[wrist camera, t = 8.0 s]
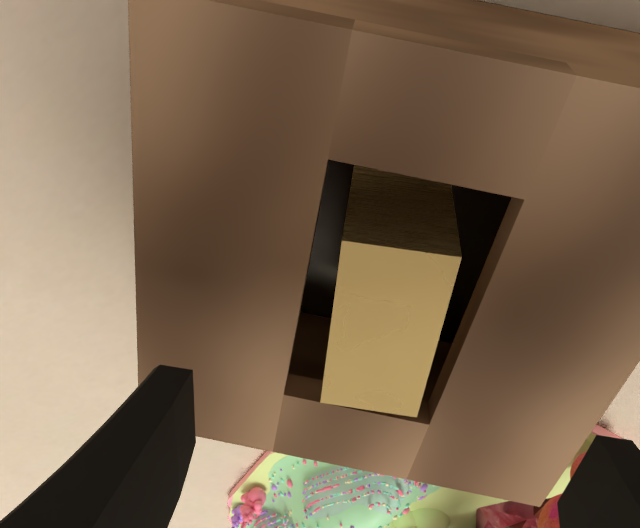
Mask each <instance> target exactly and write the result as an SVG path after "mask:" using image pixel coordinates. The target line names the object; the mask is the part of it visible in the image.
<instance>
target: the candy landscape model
mask: <svg viewBox="0 0 640 528" xmlns="http://www.w3.org/2000/svg"><path fill="white" fill-rule="evenodd" d="M596 435H601V436H607V437H613V438H619V439H622V438H621V437H619V436H617V435H615V434H613V433H612V432H610V431H608V430H606V429H604V428H603V427H601V426H599V425H597V424H596V425H595V427H594V428H593V430H592V431H591V433H590V434H589V436H588V437H587V439H586V440H585V442H584V443H583V445H582V446H581V448H580V449H579V450H578V452H577V453H576V455H575V456H574V458H573V459H572V461H571V462H570V464H569V465H568V467H567V468H566V470H565V471H564V472H563V474H562V475H561V477H560V478H559V480H558V481H557V483H556V484H555V486H554V487H553V489H552V490H551V492H550V493H549V495H548V496H547V497H546V499H545V500H544V502H543V503H542V505H541V506H540V507H537V506H533V505H528V504H523V503H518V502H513V501H508V500H504V499H499V498H494V497H489V496H484V495H479V494H474V493H470V492H465V491H460V490H455V489H450V488H445V487H440V486H436V485H431V484H426V483H421V482H416V481H411V480H407V479H402V478H397V477H392V476H387V475H382V474H377V473H373V472H368V471H363V470H358V469H353V468H348V467H343V466H339V465H334V464H329V463H324V462H319V461H314V460H310V459H305V458H300V457H295V456H290V455H285V454H280V453H276V452H271V451H266V452H265V453H264V454H263V455H262V456H261V458H260V459H259V460H258V461H257V462H256V463H255V464H254V466H253V467H252V468H251V469H250V470H249V471H248V472H247V473H246V475H245V476H244V477H243V478H242V479H241V480H240V481H239V482H238V484H237V485H236V486H235V487H234V488H233V489H232V491H231V492H230V496H229V499H228V502H227V504H228V506H229V508H230V511H229V515H228V519H229V521H230V522H231V524H232V528H560V525H559V516H558V506H557V502H558V500H559V498H560V497H561V495H562V493H563V492H564V490H565V488H566V486H567V485H568V483H569V481H570V480H571V478H572V476H573V474H574V473H575V471H576V469H577V468H578V466H579V464H580V462H581V461H582V459H583V457H584V455H585V454H586V452H587V450H588V449H589V447H590V445H591V443H592V442H593V440H594V438H595V437H596Z"/></svg>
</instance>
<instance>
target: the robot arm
mask: <svg viewBox="0 0 640 528" xmlns="http://www.w3.org/2000/svg"><path fill="white" fill-rule="evenodd" d="M195 443H196V437H195V411H194V385H193V370H191V369H185V368H179V367H172V366H166V365H158V366H157V367H155V368H154V369H153V370H152V371H151V372H150V374H149V375H148V376H147V377H146V378H145V379H144V381H143V382H142V383H141V384H140V385H139V386H138V387H137V388H136V390H135V391H134V392H133V393H132V394H131V395H130V396H129V397H128V398H127V400H126V401H125V402H124V403H123V404H122V405H121V406H120V407H119V408H118V409H117V410H116V411H115V412H114V414H113V415H112V416H111V417H110V418H109V419H108V420H107V421H106V422H105V423H104V424H103V425H102V426H101V427H100V428H99V429H98V430H97V431H96V432H95V433H94V434H93V435H92V436H91V437H90V438H89V439H88V440H87V441H86V442H85V443H84V444H83V445H82V446H81V447H80V448H79V449H78V450H77V451H76V452H75V453H74V454H73V455H72V456H71V457H70V458H69V459H68V460H67V461H66V462H65V463H64V464H63V465H62V466H61V467H60V468H59V469H58V470H57V471H56V472H54V473H53V474H52V475H51V476H50V477H49V478H48V479H47V480H46V481H45V482H44V483H42V484H41V485H40V486H39V487H38V488H37V489H36V490H35V491H34V492H33V493H32V494H30V495H29V496H28V497H27V498H26V499H25V500H24V501H23V502H22V503H21V504H19V505H18V506H17V507H16V508H15V509H14V510H13V511H11V512H10V513H9V514H8V515H7V516H6V517H4V518H3V519H2V520H1V521H0V528H167V527H168V525H169V522H170V520H171V517H172V515H173V512H174V510H175V507H176V505H177V502H178V500H179V498H180V495H181V491H182V488H183V485H184V481H185V478H186V475H187V471H188V468H189V464H190V461H191V457H192V454H193V450H194V447H195ZM557 506H558V516H559V525H560V528H640V450H639V449H638V448H637V446H636V445H635V444H634V443H633V441H632V440H626V439H619V438H613V437H607V436H601V435H596V437H595V438H594V440H593V442H592V443H591V445H590V447H589V449H588V450H587V452H586V454H585V455H584V457H583V459H582V461H581V462H580V464H579V466H578V468H577V469H576V471H575V473H574V474H573V476H572V478H571V480H570V481H569V483H568V485H567V486H566V488H565V490H564V492H563V493H562V495H561V497H560V498H559V500H558V502H557Z"/></svg>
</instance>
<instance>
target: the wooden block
mask: <svg viewBox="0 0 640 528" xmlns="http://www.w3.org/2000/svg"><path fill="white" fill-rule="evenodd" d="M461 259H462V255H461V248H460V242H459V235H458V228H457V221H456V214H455V207H454V200H453V194H452V187H451V184H446V183H441V182H436V181H431V180H426V179H421V178H417V177H412V176H407V175H402V174H397V173H392V172H387V171H382V170H377V169H373V168H368V167H363V166H358V165H354V169H353V176H352V182H351V188H350V194H349V200H348V206H347V212H346V218H345V224H344V230H343V237H342V243H341V251H340V258H339V266H338V273H337V281H336V288H335V296H334V303H333V311H332V318H331V325H330V333H329V340H328V348H327V355H326V363H325V370H324V378H323V385H322V393H321V400H320V403H326V404H332V405H339V406H345V407H352V408H358V409H365V410H371V411H378V412H384V413H391V414H397V415H404V416H410V417H417V415H418V411H419V408H420V404H421V401H422V397H423V394H424V390H425V387H426V383H427V379H428V376H429V372H430V369H431V365H432V362H433V358H434V355H435V351H436V347H437V344H438V340H439V337H440V333H441V330H442V326H443V323H444V319H445V315H446V312H447V308H448V305H449V301H450V298H451V294H452V291H453V287H454V283H455V280H456V276H457V273H458V269H459V266H460V262H461Z"/></svg>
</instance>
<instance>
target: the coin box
mask: <svg viewBox="0 0 640 528" xmlns="http://www.w3.org/2000/svg"><path fill="white" fill-rule="evenodd" d="M128 10H129V48H130V86H131V124H132V162H133V200H134V238H135V276H136V314H137V352H138V386H139V385H140V384H141V383H142V382H143V381H144V379H145V378H146V377H147V376H148V375H149V374H150V372H151V371H152V370H153V369H154V368H155V367H157V366H158V365H166V366H172V367H179V368H185V369H191V370H193V385H194V411H195V436H198V437H203V438H208V439H213V440H217V441H222V442H227V443H232V444H237V445H242V446H246V447H251V448H256V449H261V450H266V451H271V452H276V453H280V454H285V455H290V456H295V457H300V458H305V459H310V460H314V461H319V462H324V463H329V464H334V465H339V466H343V467H348V468H353V469H358V470H363V471H368V472H373V473H377V474H382V475H387V476H392V477H397V478H402V479H407V480H411V481H416V482H421V483H426V484H431V485H436V486H440V487H445V488H450V489H455V490H460V491H465V492H470V493H474V494H479V495H484V496H489V497H494V498H499V499H504V500H508V501H513V502H518V503H523V504H528V505H533V506H537V507H540V506H541V505H542V503H543V502H544V500H545V499H546V497H547V496H548V495H549V493H550V492H551V490H552V489H553V487H554V486H555V484H556V483H557V481H558V480H559V478H560V477H561V475H562V474H563V472H564V471H565V470H566V468H567V467H568V465H569V464H570V462H571V461H572V459H573V458H574V456H575V455H576V453H577V452H578V450H579V449H580V448H581V446H582V445H583V443H584V442H585V440H586V439H587V437H588V436H589V434H590V433H591V431H592V430H593V428H594V427H595V425H596V424H597V423H598V421H599V420H600V418H601V417H602V415H603V414H604V412H605V411H606V409H607V408H608V406H609V405H610V403H611V402H612V401H613V399H614V398H615V396H616V395H617V393H618V392H619V390H620V389H621V387H622V386H623V384H624V383H625V381H626V380H627V379H628V377H629V376H630V374H631V373H632V371H633V370H634V368H635V367H636V365H637V364H638V362H639V361H640V33H635V32H630V31H625V30H620V29H615V28H610V27H605V26H601V25H596V24H591V23H586V22H581V21H576V20H571V19H566V18H561V17H556V16H551V15H546V14H542V13H537V12H532V11H527V10H522V9H517V8H512V7H507V6H502V5H497V4H492V3H488V2H483V1H478V0H128ZM329 160H333V161H338V162H343V163H348V164H353V165H358V166H363V167H368V168H373V169H377V170H382V171H387V172H392V173H397V174H402V175H407V176H412V177H417V178H421V179H426V180H431V181H436V182H441V183H446V184H451V185H456V186H461V187H465V188H470V189H475V190H480V191H485V192H490V193H495V194H500V195H505V196H509V197H512V198H511V200H510V203H509V205H508V208H507V210H506V213H505V215H504V218H503V220H502V223H501V225H500V227H499V230H498V232H497V235H496V237H495V240H494V242H493V245H492V247H491V250H490V252H489V254H488V257H487V259H486V262H485V264H484V267H483V269H482V272H481V274H480V277H479V279H478V281H477V284H476V286H475V289H474V291H473V294H472V296H471V299H470V301H469V304H468V306H467V309H466V311H465V313H464V316H463V318H462V321H461V323H460V326H459V328H458V331H457V333H456V336H455V338H454V340H453V343H448V342H443V341H438V344H437V347H436V351H435V355H434V358H433V362H432V365H431V369H430V372H429V376H428V379H427V383H426V387H425V390H424V394H423V397H422V401H421V404H420V408H419V411H418V415H417V417H410V416H404V415H397V414H391V413H384V412H378V411H371V410H365V409H358V408H352V407H345V406H339V405H332V404H326V403H320V400H321V393H322V385H323V378H324V370H325V363H326V355H327V348H328V340H329V333H330V325H331V318H326V317H321V316H317V315H312V314H307V313H302V312H300V309H301V304H302V299H303V293H304V288H305V283H306V277H307V272H308V267H309V262H310V256H311V251H312V246H313V240H314V235H315V230H316V225H317V219H318V214H319V209H320V203H321V198H322V193H323V188H324V182H325V177H326V172H327V166H328V161H329Z"/></svg>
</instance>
